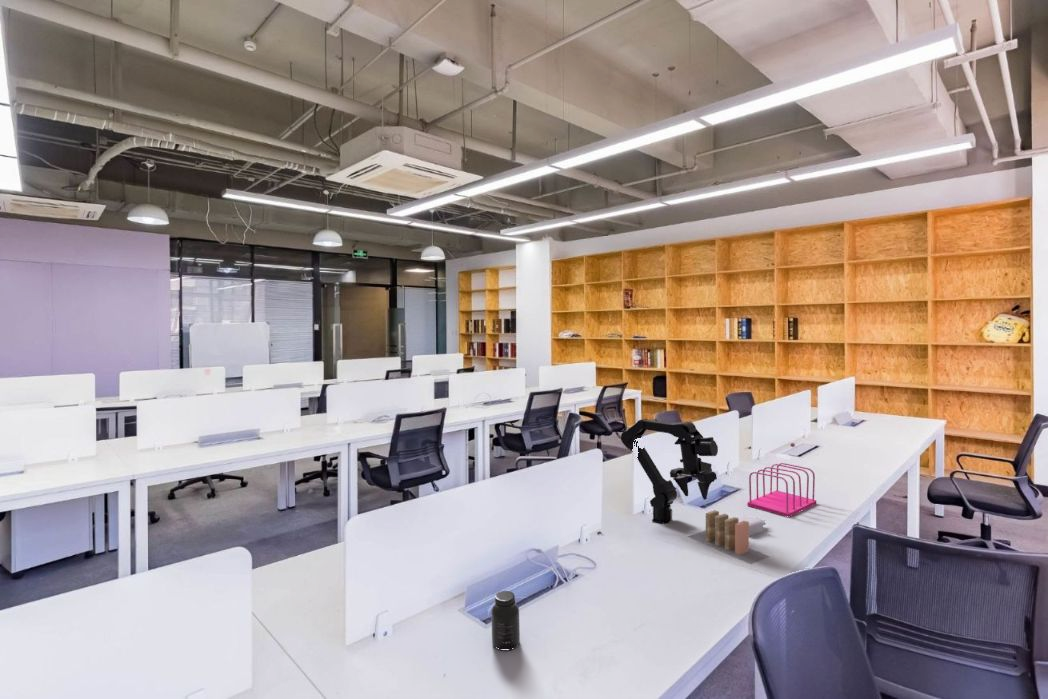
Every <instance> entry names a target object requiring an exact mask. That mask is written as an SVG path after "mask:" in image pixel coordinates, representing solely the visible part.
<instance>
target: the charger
mask: <svg viewBox="0 0 1048 699" xmlns="http://www.w3.org/2000/svg"><path fill="white" fill-rule="evenodd" d="M733 517H735V518H738V523H739V522H742V521H747V522H749V537H750V536H753V535H757V534H759V533H760V534H762V533H763V530H764V529H763V528H764V526H765V525H766V520H764V519H762V518H759V517H752V516H749V515H747V514H739V515H736V516H732V517H728V519H730V518H733ZM761 532H762V533H761Z"/></svg>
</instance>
